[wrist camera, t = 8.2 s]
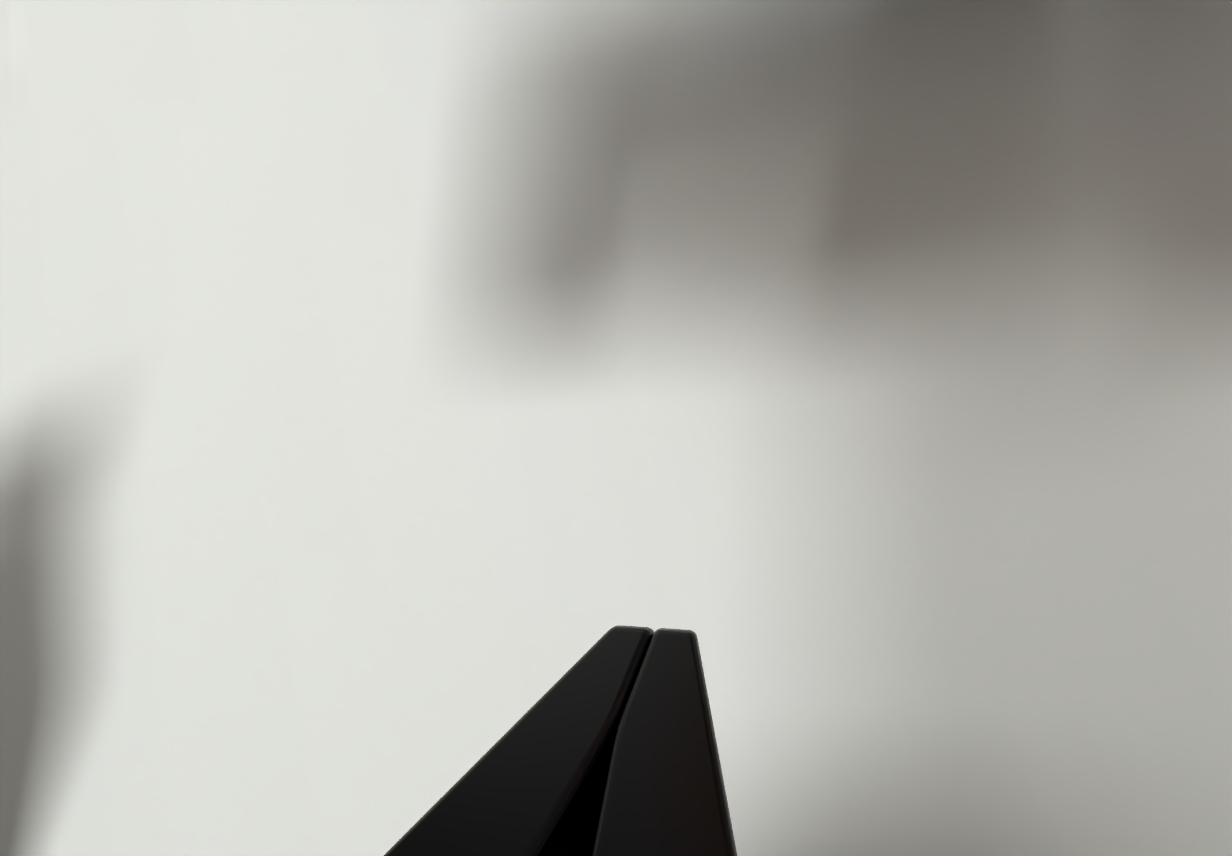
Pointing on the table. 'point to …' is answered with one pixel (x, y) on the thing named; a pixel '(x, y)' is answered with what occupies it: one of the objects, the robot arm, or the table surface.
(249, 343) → the table surface
